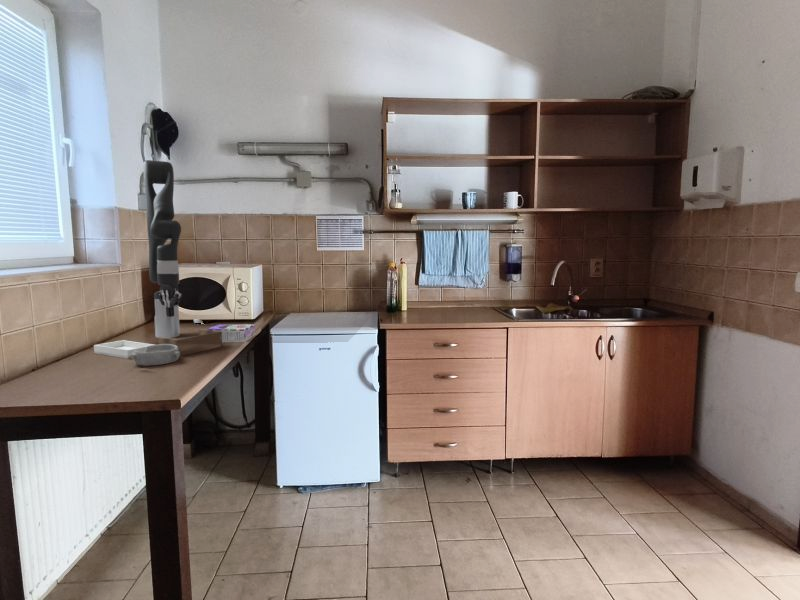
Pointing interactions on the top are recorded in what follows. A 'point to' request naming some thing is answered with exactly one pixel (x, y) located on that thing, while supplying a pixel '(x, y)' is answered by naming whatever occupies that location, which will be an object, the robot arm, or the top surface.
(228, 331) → the candy box
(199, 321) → the mug
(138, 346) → the tray
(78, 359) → the top surface
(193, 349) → the bay
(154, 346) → the dish
